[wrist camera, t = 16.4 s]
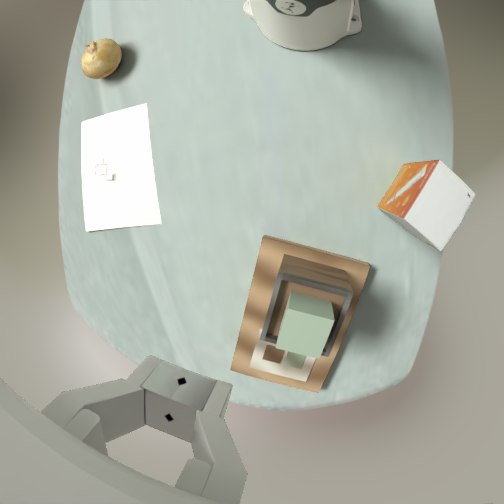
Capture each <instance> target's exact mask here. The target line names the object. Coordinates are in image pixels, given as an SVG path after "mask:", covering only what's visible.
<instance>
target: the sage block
mask: <svg viewBox="0 0 504 504" xmlns="http://www.w3.org/2000/svg"><path fill="white" fill-rule="evenodd" d="M334 321H335V320H334V314H333V308H332V302H331V301H328V300H324V299H320V298H316V297H313V296H309V295H305V294H301V293H297V292H294V291H291V292H290V296H289V299H288V302H287V306H286V309H285V312H284V316H283V319H282V322H281V325H280V330H279V334H278V339H277V344H276V348H278V349H281V350H285V351H289V352H293V353H297V354H301V355H305V356H309V357H314V358H318V359H319V358H320V356H321V353H322V351H323V349H324V346H325V344H326V341H327V339H328V336H329V334H330V331H331V328H332V326H333V323H334Z"/></svg>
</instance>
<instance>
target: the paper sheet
mask: <svg viewBox="0 0 504 504" xmlns="http://www.w3.org/2000/svg"><path fill="white" fill-rule="evenodd" d="M81 171H82V192H83V206H84V217H85V227H86V232H87V231H95V230H104V229H114V228H123V227H133V226H144V225H154V224H162V222H161V216H160V210H159V204H158V197H157V191H156V184H155V176H154V169H153V161H152V152H151V144H150V134H149V124H148V113H147V103H146V104H142V105H138V106H134V107H130V108H126V109H122V110H119V111H115V112H112V113H108V114H105V115H102V116H99V117H95V118H92V119H89V120H86V121H83V122H82V125H81Z"/></svg>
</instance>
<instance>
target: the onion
mask: <svg viewBox="0 0 504 504" xmlns="http://www.w3.org/2000/svg"><path fill="white" fill-rule="evenodd" d="M85 46H89V47H88V49H87V50H86V51H85V53H84V54H83V56H82V60H81V67H82V70H83V72H84V74H85V75H86V76H88V77H90V78H93V79H100V78H104V77H106V76H108V75H110V74H111V73H112V72H114V71H115V69H117V67H118V65H119V63H120V61H121V48H120V46H119V45H118V44H117V43H116V42H115V41H114V40H112V39H100V40H98V41H96V42H91V43H90V44H89V45H86V44H85Z"/></svg>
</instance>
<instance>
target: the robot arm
mask: <svg viewBox="0 0 504 504" xmlns="http://www.w3.org/2000/svg"><path fill="white" fill-rule="evenodd" d="M243 10H244V13H245V14H246V15H247V16H249V17H250V18H252V19H253V20H255V22H256V23H257V25H258V27H259V29H260V30H261V32H262V33H263V34H264V35H265V36H266V37H267V38H268V39H269V40H271V41H272V42H274V43H276V44H278V45H280V46H282V47H285V48H289V49H293V50H303V51H308V50H317V49H322V48H325V47H328V46H330V45H332V44H334V43H335V42H337V41H338V40H339V39H341V38H342V37H344V36H346V35H351V34H356V33H358V32H360V31H361V29H362V22H361V15H360V7H359V1H358V0H247V1H246V3H245V4H244V6H243ZM351 19H354V20H355V21H352V20H351ZM232 387H233V385H232V384H230V383H226V382H223V381H220V380H216V379H213V378H210V377H206V376H203V375H200V374H198V373H195V372H192V371H189V370H186V369H184V368H181V367H179V366H176V365H174V364H171V363H169V362H166V361H164V360H161V359H159V358H156V357H154V356H152V355H149V356H147V357H146V358H145V359H144V360H143V361H142V363H141V364H140V365H139V366H138V367H137V368H136V369H135V371H133V373H132V374H131V375H130V376H129V377H128V378H127V379H126V380H124V379H118V380H114V381H110V382H106V383H102V384H97V385H93V386H88V387H84V388H79V389H74V390H69V391H64V392H62V393H61V394H60V395H59V396H57V397H56V398H55V399H54V400H53V401H52V402H51V403H50V404H49V405H48V406H47V407H46V408H45V409H43V410H42V411H41V412H39V411H38V410H37V409H35V408H34V407H33V406H32V405H30V404H29V403H28V402H27V401H26V400H24V399H23V398H22V397H21V396H20V395H18V394H17V393H16V392H15V391H14V390H13V389H12V388H11V387H9V386H8V385H7V384H6V383H5V382H4V381H3V380H2V379H1V378H0V504H239V503H240V499H241V496H242V493H243V489H244V485H245V481H246V478H247V474H248V473H247V471H246V469H245V467H244V464H243V462H242V460H241V458H240V455H239V453H238V451H237V448H236V446H235V444H234V442H233V439H232V437H231V434H230V432H229V430H228V427H227V425H226V422H225V420H224V419H223V418H224V415H225V412H226V409H227V405H228V402H229V398H230V394H231V391H232ZM144 425H148V426H150V427H153V428H155V429H158V430H160V431H163V432H165V433H168V434H170V435H173V436H175V437H177V438H180V439H182V440H185V441H187V442H190V443H192V449H193V453H194V457H195V459H194V458H193V459H190V460H188V461H187V463H186V465H185V467H184V469H183V471H182V473H181V475H180V477H179V479H178V481H177V483H176V485H175V487H173V486H170V485H168V484H165V483H163V482H160V481H158V480H155V479H153V478H151V477H148V476H146V475H144V474H142V473H140V472H138V471H136V470H134V469H131V468H129V467H127V466H125V465H123V464H121V463H119V462H117V461H116V460H114V459H112V458H110V457H108V453H107V449H106V444H105V443H106V442H109V441H111V440H114V439H116V438H118V437H120V436H123V435H125V434H127V433H130V432H132V431H134V430H136V429H138V428H140V427H142V426H144ZM485 504H492V503H485Z"/></svg>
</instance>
